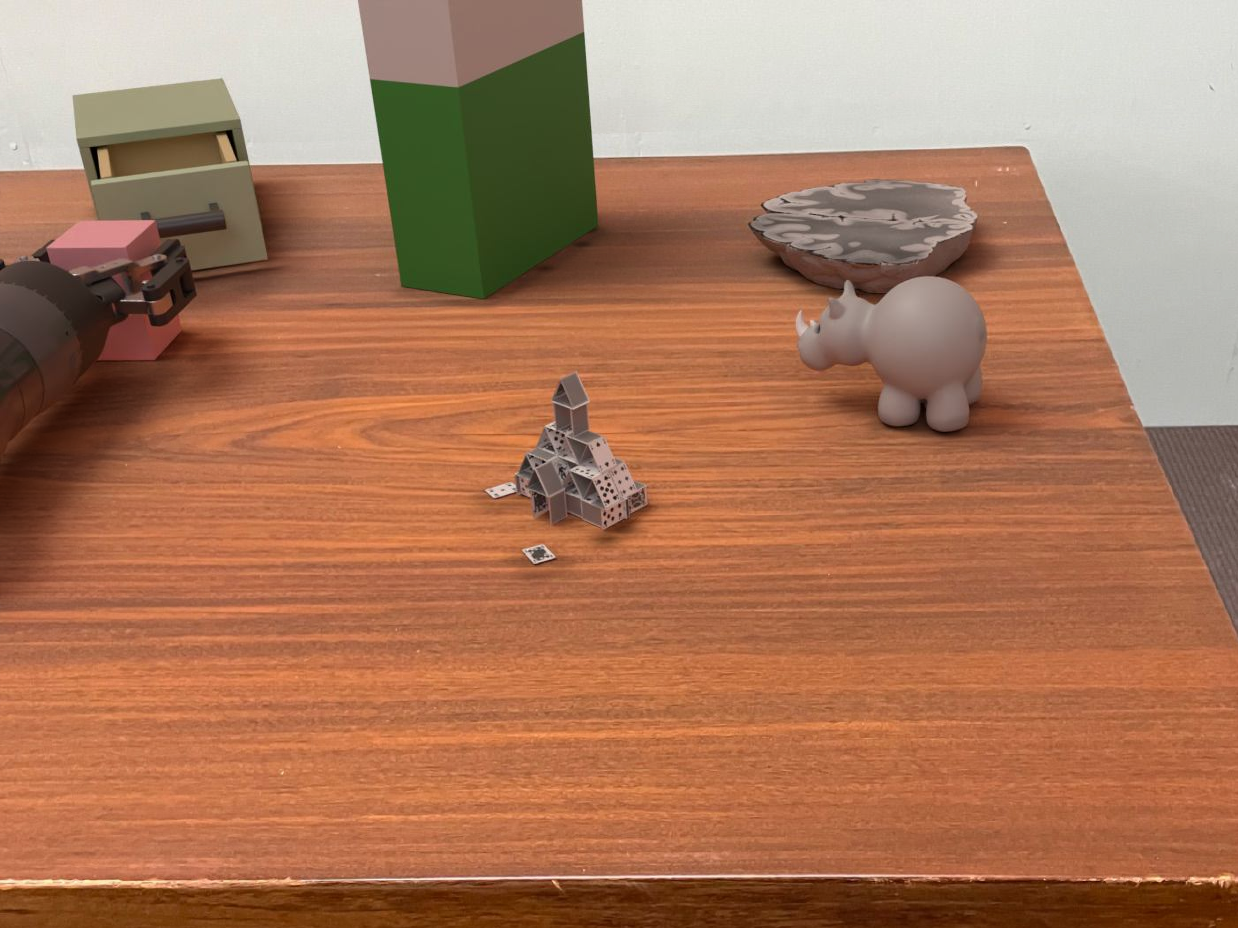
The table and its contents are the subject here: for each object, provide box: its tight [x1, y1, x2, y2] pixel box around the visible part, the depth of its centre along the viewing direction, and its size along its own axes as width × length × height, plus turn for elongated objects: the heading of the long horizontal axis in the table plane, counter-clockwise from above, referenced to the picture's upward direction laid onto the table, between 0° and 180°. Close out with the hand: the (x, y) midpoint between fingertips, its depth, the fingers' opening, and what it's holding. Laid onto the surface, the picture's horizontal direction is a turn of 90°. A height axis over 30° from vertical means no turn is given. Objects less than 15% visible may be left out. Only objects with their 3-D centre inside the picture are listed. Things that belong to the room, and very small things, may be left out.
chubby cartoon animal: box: [794, 276, 988, 433], centre depth 93 cm, size 7×12×8 cm, turn 67°
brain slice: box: [747, 178, 979, 294], centre depth 117 cm, size 20×17×3 cm
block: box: [46, 220, 183, 361], centre depth 106 cm, size 6×6×8 cm
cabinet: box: [72, 77, 264, 231], centre depth 129 cm, size 15×13×9 cm
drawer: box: [91, 131, 269, 272], centre depth 119 cm, size 18×11×7 cm, turn 20°
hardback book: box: [357, 0, 599, 300], centre depth 114 cm, size 18×7×24 cm, turn 154°
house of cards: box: [484, 370, 649, 565], centre depth 84 cm, size 9×9×8 cm
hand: (119, 253), depth 106 cm, fingers open, 8 cm apart
